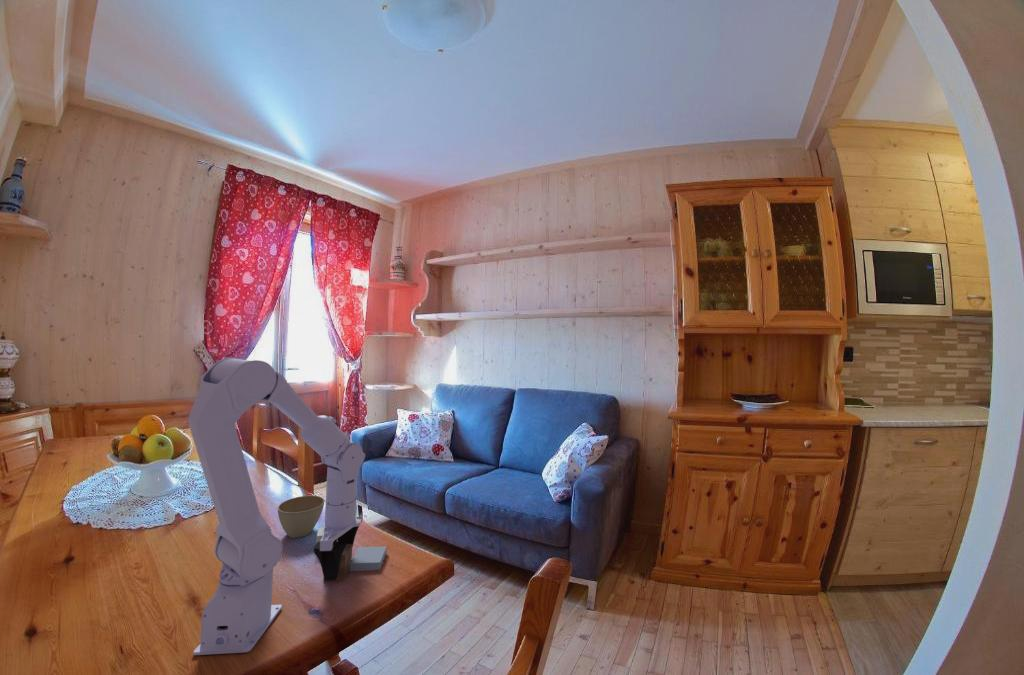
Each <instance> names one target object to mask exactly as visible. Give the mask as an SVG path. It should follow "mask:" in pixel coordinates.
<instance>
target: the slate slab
mask: <svg viewBox="0 0 1024 675" xmlns="http://www.w3.org/2000/svg"><path fill="white" fill-rule="evenodd" d="M387 547H388V546H359V547H358V548H357V551H355V554H354V555H353V556H352V561H351V563H350V571H349V572H359V571H360V572H362V571H364V572H365V571H381V568H382V566H381V565H383V563H384V561H383V560H385V558H386V556H385V555H387Z"/></svg>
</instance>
